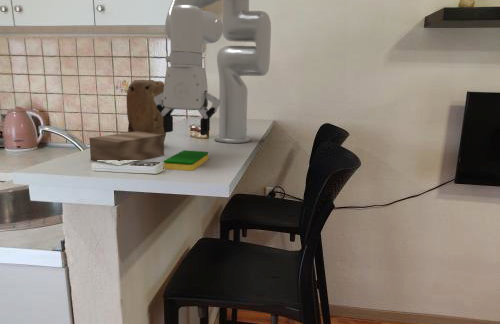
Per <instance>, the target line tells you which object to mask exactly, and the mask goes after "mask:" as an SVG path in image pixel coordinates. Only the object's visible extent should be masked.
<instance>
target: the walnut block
mask: <svg viewBox="0 0 500 324" xmlns="http://www.w3.org/2000/svg"><path fill="white" fill-rule="evenodd" d="M88 138H89V153H90V155H89V156H90V161H92V162H97V160H118V161H120V160H141V161H146V160H148V159H149V160H150V159H153V158H158V157H162V156H165V140H164V135H163V134H155V133H147V132H140V131H135V132H128V131H127V132H123V133H115V134H108V135H101V136H99V135H98V136H95V137H94V136H93V137H88Z"/></svg>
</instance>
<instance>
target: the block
mask: <svg viewBox="0 0 500 324" xmlns="http://www.w3.org/2000/svg"><path fill="white" fill-rule="evenodd" d="M163 92H164V81H161V80H154V79H153V80H152V79H148V80H145V79H134V80H133V81H132V82H130V83H129V85H128V88H127V93H126V114H127V121H128V124H127V125H128V126H127V133H128V132H135V131H140V132H147V133H155V134H163V135H164V141H166V140H165V139H166V137H167V136H166V135H167V132H164V127H163V116H162V115H161V112H160V111H159V110H158V109H157V105H156V104H155V101H154V97H155V96H157V95H159V94H161V93H163ZM162 104H163V100H162ZM163 105H164V104H163Z"/></svg>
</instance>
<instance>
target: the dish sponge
mask: <svg viewBox="0 0 500 324" xmlns="http://www.w3.org/2000/svg"><path fill="white" fill-rule="evenodd" d="M208 160H209V152H208V151H202V150H201V151H200V150H199V151H198V150H188V149H187V150H185V149H184V150H181V151H179V152H177V153H175V154H174V155H172V156H170V157H168V158H166V159H164V160H163V167H164V166H165V170H176V171H177V170H178V171H190V172H191V171H194V170H195V169H197V168H199V166H201V165H203V164H204V163H205V162H206V161H208Z"/></svg>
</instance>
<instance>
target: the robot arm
mask: <svg viewBox="0 0 500 324" xmlns="http://www.w3.org/2000/svg"><path fill="white" fill-rule="evenodd" d="M220 1H221V0H172V1H171V3H170V6H169V8H168V11H167V13H166V18H165V34H166V36H167V38H168V39H169V40H170V53H169V56H165V61H166V63H169V65H170V66H166V72H165V76H164V81H163V83H164V92H163V93H161V94H159V95H157V96H155V97H154V101H155V104H156V105H157V109H158V110H159V111H160V112H161V115H162V116H163V127H164V132H166V133H172V132H173V131H174V122H173V121H174V117H173V115H172V113H173V112H174V111H175V110H182V111H184V110H185V111H197V112H198V113H199V114H200V116H202V117H201V118H200V125H199V126H200V128H199V131H200V133H199V134H200V136H206V135H208V134H209V132H210V130H211V129H210V128H211V127H210V126H211V125H210V124H211V123H210V122H211V118H212V117H213V115H214V114H215V113H217V111H218V109H219V111H218V112H219V113H218V114H219V115H218V117H219V118H218V134H217V135H215V136H214V138H213V139H214V141H215V142H219V143H225V144H226V143H227V144H231V143H232V144H241V143H249V142H251V138H252V137H251V136H248V135H247V130H248V129H247V127H248V126H247V121H248V120H247V119H248V118H247V117H248V116H247V115H248V88H247V84H246V83H245V82H244V80H243V79H242V76H243V77H245V76H249V77H253V76H254V77H261V76H262V77H264V76H266V75H267V74H268V72H269V70H270V65H271V64H270V62H271V60H270V59H271V41H272V39H271V37H272V23H271V22H272V21H271V18H270V15H269V14H268V13H267V12H265V11H263V10H250V0H222V20H221V19H220V17H219V16H218V15H217V13H214V12H212V11H206V10H202V9H203V8H206V7H209V6H212V5H213V4H215V3H218V2H220ZM222 35H223V38H224V39H225V40H226V41H229V42H234V43H235V42H236V43H237V42H238V43H241V42H243V43H255V45H227V46H224V47H222V48H220V49H219V50H218V52H217V54H216V63H217V70H218V79H219V80H218V82H219V93H218V94H219V98H217V97H215V96H214V95H213V94H210V92H209V89H208V88H209V86H208V77H207V72H206V68H205V67H203V66H204V65H203V62H204V61H203V57H204V55H203V52H204V51H203V47H204V46H203V45H204V44H215V43H216V42H218V41H220V39H221V38H222ZM162 100H163V104H164V105H163V104H162ZM209 102H211V107H210V108H209V109H208V105H209Z"/></svg>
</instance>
